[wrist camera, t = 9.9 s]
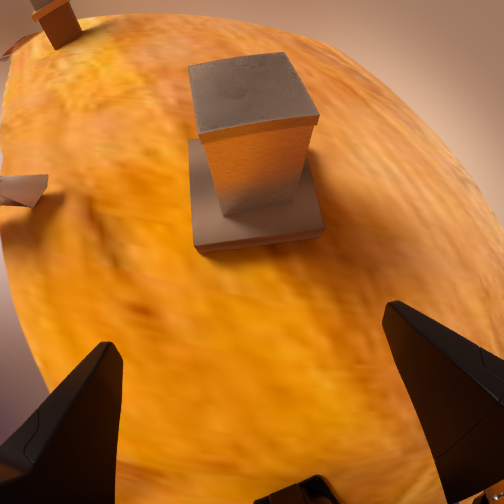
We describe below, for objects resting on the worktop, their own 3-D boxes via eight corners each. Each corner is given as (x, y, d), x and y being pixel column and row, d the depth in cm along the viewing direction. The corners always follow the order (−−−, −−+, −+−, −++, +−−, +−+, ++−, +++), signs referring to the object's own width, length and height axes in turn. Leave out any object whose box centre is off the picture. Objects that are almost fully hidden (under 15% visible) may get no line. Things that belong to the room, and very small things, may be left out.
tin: (294, 202, 22) (319, 114, 12) (221, 217, 21) (198, 134, 12) (275, 144, 23) (284, 52, 14) (209, 157, 23) (187, 66, 13)
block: (316, 240, 24) (324, 228, 21) (201, 255, 24) (193, 245, 21) (294, 146, 27) (297, 127, 24) (194, 158, 26) (188, 140, 23)
